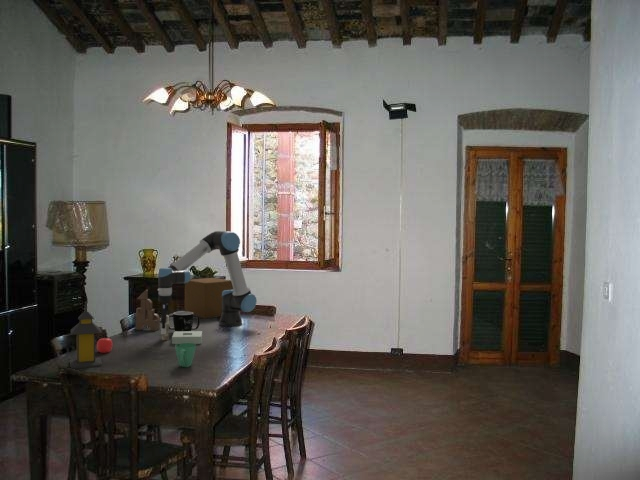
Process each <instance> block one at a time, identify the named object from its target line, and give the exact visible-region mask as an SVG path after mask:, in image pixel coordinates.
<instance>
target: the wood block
mask: <svg viewBox="0 0 640 480" xmlns="http://www.w3.org/2000/svg"><path fill="white" fill-rule="evenodd" d="M224 290H234V289H233V286H232V282H231V279H224V278H216V277H207V278H205V277H204V278H194V279H192V278H191V279H190V281H189V282H188V283H184V312H193V315H196V316H199V318H201V319H205V320H206V319H213V318H220V317H221V314H222V292H223V291H224Z"/></svg>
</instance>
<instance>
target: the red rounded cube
mask: <svg viewBox="0 0 640 480" xmlns="http://www.w3.org/2000/svg"><path fill="white" fill-rule="evenodd" d="M113 345H114V343H113V341H112V339H111V338H108V337H106V336H104V338H103V337H102V338H100V339H98V340H97V341H96V349H97V352H99V353H100V354H105V353H106V354H107V353H110V351H112V349H113Z"/></svg>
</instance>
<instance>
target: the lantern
mask: <svg viewBox="0 0 640 480" xmlns="http://www.w3.org/2000/svg"><path fill="white" fill-rule="evenodd" d="M94 319H95V318H94V316H93V315H92V314H91V312H89V311H88V301H84V311H83V312H82V313H81V314H80V315H79V316H78V317H77V320H79V322H78V323H77V324H75V326H73V327H72V328H71V329H70V335H71V336H72V335H76V358H75V359H70V360H69V368H70V367H71V368H70V369H81V368H83V369H84V368H94V367H95V368H96V367H102V366H103V362H102V358H101V357H96V334H101V333H103V331H102V330H101V327H100V326H98V325H97V324H95V323H94V322H93V320H94Z"/></svg>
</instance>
